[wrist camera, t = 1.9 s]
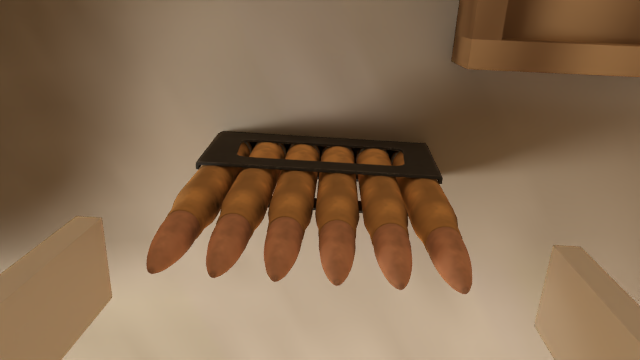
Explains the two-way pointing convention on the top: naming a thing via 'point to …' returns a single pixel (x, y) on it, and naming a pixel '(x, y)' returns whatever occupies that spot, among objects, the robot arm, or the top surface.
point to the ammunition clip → (315, 206)
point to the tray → (549, 36)
